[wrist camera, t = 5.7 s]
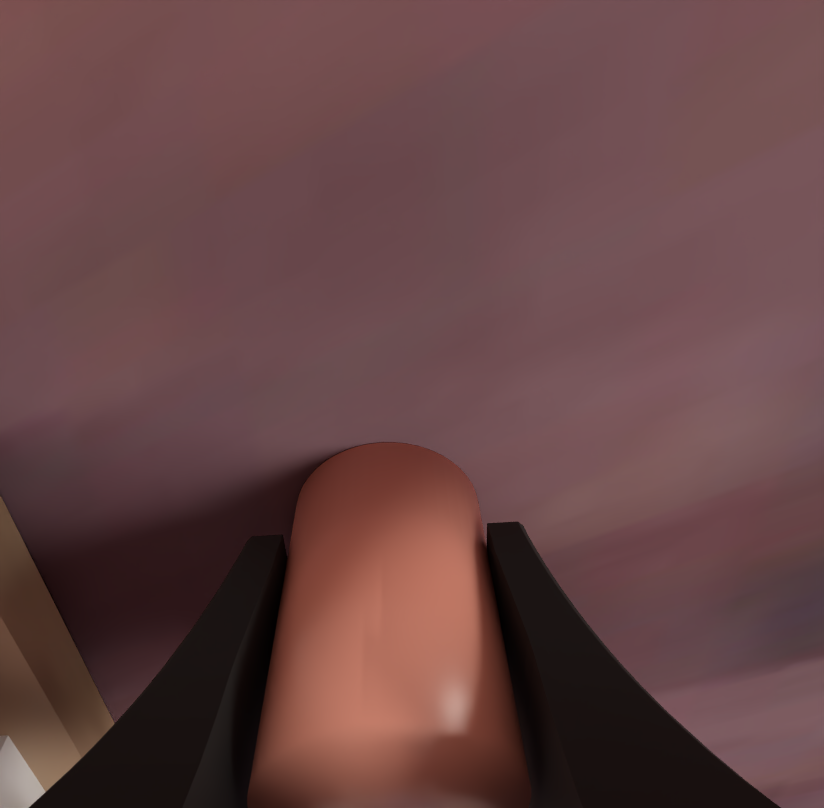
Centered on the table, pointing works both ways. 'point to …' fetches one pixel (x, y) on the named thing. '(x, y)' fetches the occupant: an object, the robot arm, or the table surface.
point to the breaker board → (38, 682)
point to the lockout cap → (388, 647)
